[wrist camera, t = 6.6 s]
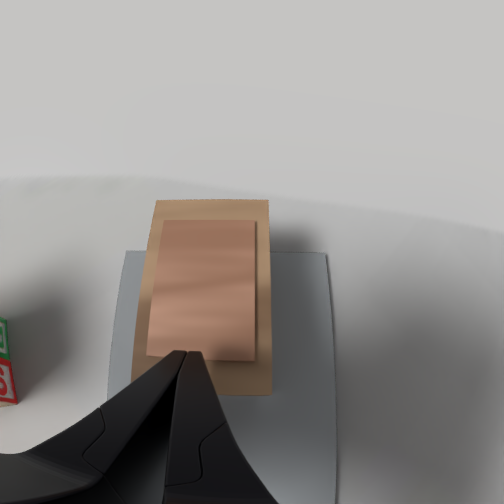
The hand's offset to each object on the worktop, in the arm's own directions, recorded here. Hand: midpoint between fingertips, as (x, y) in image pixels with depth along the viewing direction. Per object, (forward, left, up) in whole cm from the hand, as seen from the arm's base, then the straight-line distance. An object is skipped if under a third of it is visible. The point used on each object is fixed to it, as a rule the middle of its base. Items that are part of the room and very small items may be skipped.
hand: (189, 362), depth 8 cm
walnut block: (-1, 0, -4) cm, 4 cm away
